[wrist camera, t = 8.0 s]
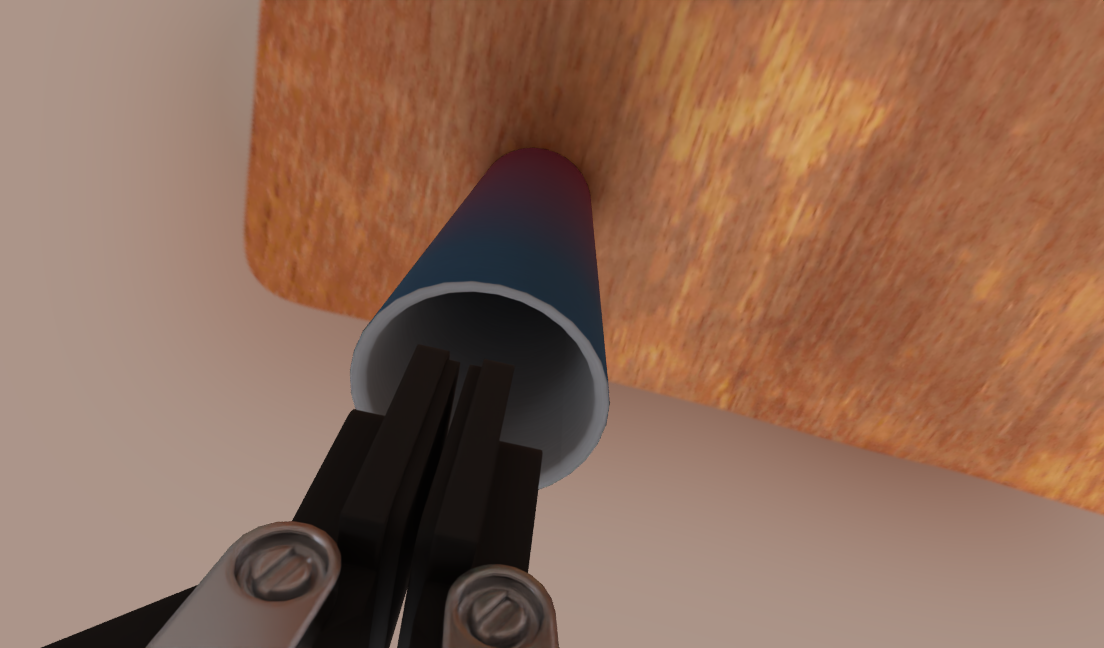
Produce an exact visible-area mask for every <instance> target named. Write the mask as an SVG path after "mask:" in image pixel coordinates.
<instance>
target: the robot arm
mask: <svg viewBox="0 0 1104 648" xmlns="http://www.w3.org/2000/svg"><path fill="white" fill-rule="evenodd" d="M449 358H450V351H447V350H442V349H438V348H433V347H429V346H424V345H420V344H418V345H417V347H416V349H415V351H414V353H413V355H412V358H411V360H410V362H409V364H408V366H407V369H406V371H405V373H404V375H403V377H402V380H401V382H400V384H399V386H398V388H397V391H396V393H395V395H394V397H393V399H392V402H391V404H390V406H389V408H388V410H387V413H386V415H385V416H384V415H379V414H374V413H370V412H365V411H361V410H356V409H353V410H352V411H351V412H350V414H349V415H348V417H347V419H346V420H345V422H344V424H343V426H342V428H341V430H340V432H339V434H338V436H337V437H336V439H335V441H334V443H333V445H332V447H331V449H330V450H329V452H328V454H327V456H326V458H325V460H324V462H323V464H322V466H321V468H320V469H319V471H318V473H317V475H316V477H315V479H314V481H313V483H312V484H311V486H310V488H309V490H308V492H307V494H306V496H305V498H304V499H303V501H302V504H301V505H300V507H299V509H298V511H297V513H296V515H295V516H294V518H293V520H292V521H289V522H275V523H271V524H267V525H264V526H260V527H257V528H255V529H253V530H252V531H250V532H248V533H246V534H244V535H243V536H242V537H240V538H239V539H238V540H237V541H236V542H235V543H234V544H232V545H231V546H230V547H229V549H228V550H227V551H226V552H225V553H224V555H223V556H222V557H221V558H220V560H219V561H218V562H217V563H216V564H215V565H214V567H213V568H212V569H211V570H210V571H209V572H208V574H207V575H206V576H205V577H204V578H203V580H202V581H201V582H200V584H198V585H196V586H194V587H191V588H189V589H186V590H184V591H181V592H179V593H176V594H174V595H171V596H169V597H166V598H164V599H161V600H159V601H157V602H154V603H152V604H149V605H146V606H144V607H142V608H139V609H137V610H134V611H131V612H129V613H126V614H124V615H122V616H119V617H117V618H114V619H112V620H109V621H107V622H104V623H102V624H99V625H97V626H94V627H92V628H90V629H87V630H84V631H82V632H79V633H77V634H74V635H72V636H69V637H67V638H64V639H62V640H59V641H57V642H54V643H52V644H49V645H47V646H44V647H42V648H389V647H390V643H391V640H392V637H393V634H394V630H395V627H396V624H397V620H398V617H399V614H400V610H401V607H402V603H403V600H404V597H405V594H406V591H407V594H406V600H405V605H404V612H403V618H402V623H401V629H400V634H399V640H398V646H397V648H559V644H558V633H557V623H556V613H555V609H554V605H553V602H552V599H551V597H550V595H549V594H548V592H547V591H546V589H545V588H544V586H543V585H542V584H541V583H540V582H539V581H537V580H536V579H535V578H534V577H533V576H532V575H530V574H528V568H529V560H530V552H531V544H532V536H533V528H534V520H535V511H536V504H537V496H538V487H539V479H540V471H541V463H542V454H543V452H542V450H540V449H535V448H531V447H526V446H522V445H517V444H512V443H508V442H503V441H499V439H500V434H501V429H502V425H503V420H504V415H505V411H506V406H507V401H508V396H509V392H510V387H511V382H512V378H513V373H514V368H515V366H514V365H510V364H505V363H501V362H496V361H492V360H487V359H484V361H483V364H482V367H480V366H475V365H471V364H470V366H469V368H468V372H467V375H466V378H465V381H464V384H463V387H462V391H461V394H460V397H459V400H458V403H457V406H456V410H455V413H454V416H453V419H452V422H451V425H450V429H449V432H448V428H449V423H450V417H451V412H452V407H453V401H454V396H455V390H456V385H457V379H458V374H459V368H460V362H457V361H453V360H449ZM447 434H448V435H447ZM407 587H408V588H407Z"/></svg>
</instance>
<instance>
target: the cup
mask: <svg viewBox="0 0 1104 648" xmlns="http://www.w3.org/2000/svg"><path fill="white" fill-rule="evenodd" d="M418 344H420V345H424V346H429V347H433V348H438V349H442V350H447V351H450V358H449V360H453V361H457V362H460V368H459V374H458V379H457V385H456V390H455V396H454V401H453V407H452V412H451V417H450V423H449V428H448V432H449V429H450V425H451V422H452V419H453V416H454V413H455V410H456V406H457V403H458V400H459V397H460V394H461V391H462V387H463V384H464V381H465V378H466V375H467V372H468V368H469V366H470V364H471V365H475V366H480V367H482V364H483V361H484V359H487V360H492V361H496V362H501V363H505V364H510V365H514V366H515V368H514V373H513V378H512V382H511V387H510V392H509V396H508V401H507V406H506V411H505V415H504V420H503V425H502V429H501V434H500V439H499V441H503V442H508V443H512V444H517V445H522V446H526V447H531V448H535V449H540V450H542V452H543V454H542V463H541V471H540V479H539V487H538V490H539V489H542V488H544V487H547V486H550V485H552V484H554V483H556V482H557V481H559V480H561V479H563V478H564V477H566V476H567V475H569V474H571V473H572V472H573V471H574V470H575V469H576V468H577V467H579V466H580V465H581V464H582V463H583V462H584V461H585V460H586V459H587V458H588V456H589V455H590V454H591V452H592V451H593V449H594V448H595V447H596V446H597V444H598V442H599V439H600V438H601V435H602V433H603V431H604V428H605V426H606V423H607V417H608V411H609V405H610V401H609V389H608V388H609V387H608V376H607V365H606V355H605V344H604V334H603V323H602V313H601V302H600V292H599V281H598V271H597V260H596V250H595V239H594V229H593V218H592V208H591V198H590V192H589V189H588V185H587V183H586V181H585V179H584V177H583V175H582V174H581V172H580V171H579V170H578V169H577V168H576V166H575V165H574V164H572V163H571V162H570V161H569V160H568V159H566V158H565V157H563V156H561V155H559V154H558V153H555V152H552V151H549V150H546V149H540V148H524V149H519V150H516V151H512V152H510V153H508V154H506V155H504V156H502V157H501V158H499V159H498V160H497V161H496V162H495V163H493V164H492V166H491V167H490V168H489V169H488V171H487V172H486V173H485V174H484V176H483V177H482V178H481V180H480V181H479V182H478V183H477V185H476V186H475V187H474V189H473V190H472V191H471V193H470V194H469V195H468V196H467V198H466V199H465V200H464V202H463V203H462V204H461V205H460V207H459V208H458V209H457V211H456V212H455V213H454V214H453V216H452V217H451V218H450V220H449V221H448V222H447V223H446V225H445V226H444V227H443V229H442V230H441V231H440V232H439V234H438V235H437V236H436V238H435V239H434V240H433V242H432V243H431V244H430V245H429V247H428V248H427V249H426V251H425V252H424V253H423V254H422V256H421V257H420V258H419V260H418V261H417V262H416V263H415V265H414V266H413V267H412V269H411V270H410V271H409V272H408V274H407V275H406V276H405V278H404V279H403V280H402V281H401V283H400V284H399V285H398V287H397V288H396V289H395V291H394V292H393V293H392V294H391V296H390V297H389V298H388V300H387V301H386V302H385V303H384V305H383V306H382V307H381V309H380V310H379V311H378V312H377V314H376V315H375V316H374V318H373V319H372V320H371V321H370V323H369V324H368V325H367V327H366V328H365V329H364V330H363V332H362V334H361V337H360V339H359V341H358V343H357V345H356V347H355V350H354V353H353V359H352V363H351V369H350V381H351V394H352V398H353V402H354V405H355V408H356V410H361V411H365V412H370V413H374V414H379V415H384V416H385V415H386V413H387V410H388V408H389V406H390V404H391V402H392V399H393V397H394V395H395V393H396V391H397V388H398V386H399V384H400V382H401V380H402V377H403V375H404V373H405V371H406V369H407V366H408V364H409V362H410V360H411V358H412V355H413V353H414V351H415V349H416V347H417V345H418ZM447 435H448V434H447Z"/></svg>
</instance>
